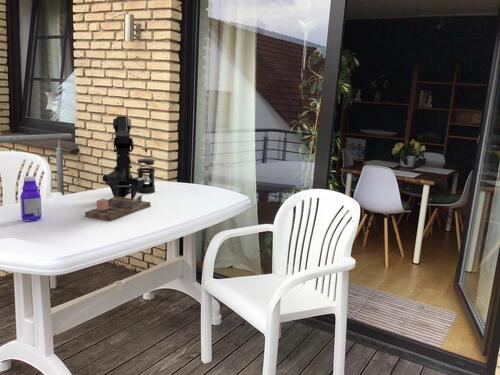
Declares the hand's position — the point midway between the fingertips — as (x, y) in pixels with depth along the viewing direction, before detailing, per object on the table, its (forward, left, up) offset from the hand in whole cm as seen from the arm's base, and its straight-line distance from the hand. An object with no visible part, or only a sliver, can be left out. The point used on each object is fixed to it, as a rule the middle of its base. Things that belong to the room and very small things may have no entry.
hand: (123, 198), depth 201 cm
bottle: (-21, -31, -5) cm, 38 cm away
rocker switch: (0, +7, -1) cm, 7 cm away
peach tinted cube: (-2, -11, -3) cm, 12 cm away
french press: (-13, +36, -5) cm, 39 cm away
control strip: (0, -3, -5) cm, 6 cm away
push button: (0, 0, -3) cm, 3 cm away
